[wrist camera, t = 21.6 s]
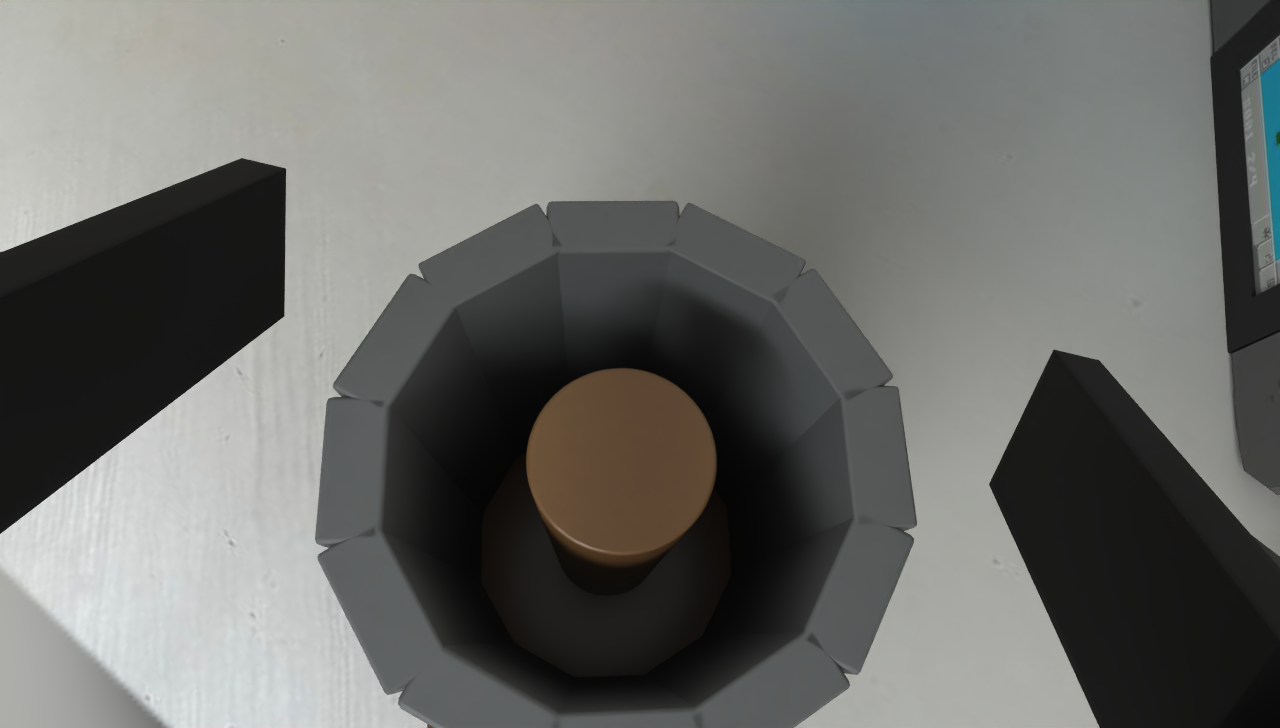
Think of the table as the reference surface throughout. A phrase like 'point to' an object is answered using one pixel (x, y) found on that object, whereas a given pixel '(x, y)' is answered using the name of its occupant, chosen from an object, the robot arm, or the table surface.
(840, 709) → the table surface
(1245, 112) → the handheld gaming console
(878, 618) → the slatted grey tube
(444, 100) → the table surface
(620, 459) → the stand
